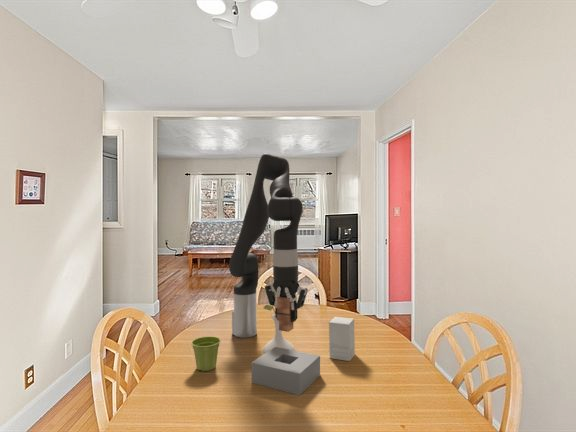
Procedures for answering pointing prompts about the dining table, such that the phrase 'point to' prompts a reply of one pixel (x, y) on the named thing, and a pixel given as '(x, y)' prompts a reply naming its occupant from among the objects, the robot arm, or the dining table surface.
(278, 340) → the flower in vase
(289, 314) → the peg
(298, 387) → the mortise board
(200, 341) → the plant pot
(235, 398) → the dining table surface
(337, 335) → the supplement box
